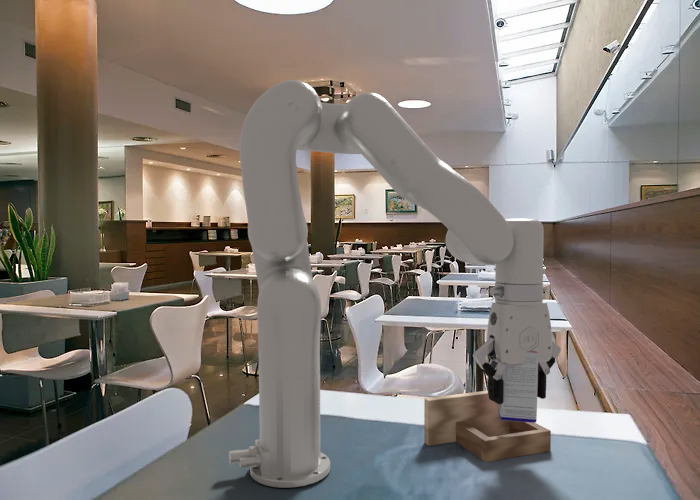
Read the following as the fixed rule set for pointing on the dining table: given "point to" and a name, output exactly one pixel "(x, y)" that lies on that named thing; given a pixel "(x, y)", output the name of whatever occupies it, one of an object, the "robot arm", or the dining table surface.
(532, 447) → the wooden tray holder
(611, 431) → the dining table surface
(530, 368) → the supplement box
